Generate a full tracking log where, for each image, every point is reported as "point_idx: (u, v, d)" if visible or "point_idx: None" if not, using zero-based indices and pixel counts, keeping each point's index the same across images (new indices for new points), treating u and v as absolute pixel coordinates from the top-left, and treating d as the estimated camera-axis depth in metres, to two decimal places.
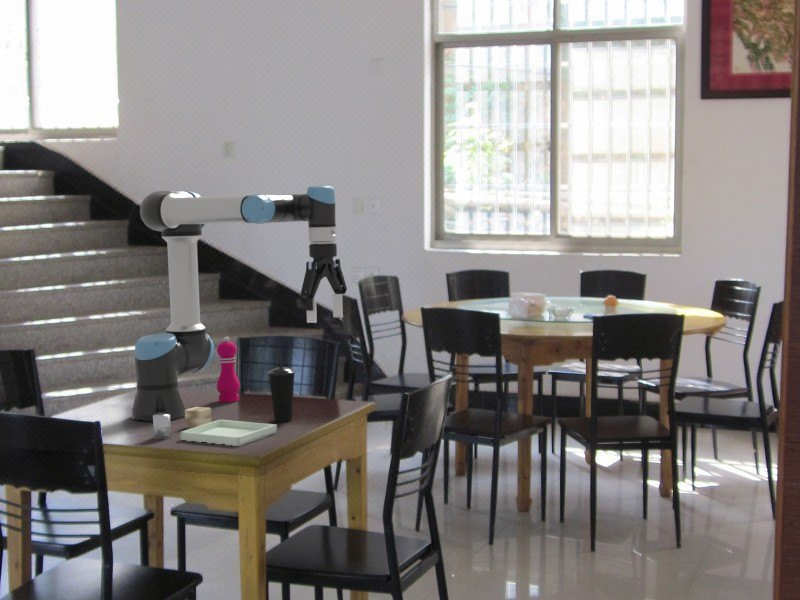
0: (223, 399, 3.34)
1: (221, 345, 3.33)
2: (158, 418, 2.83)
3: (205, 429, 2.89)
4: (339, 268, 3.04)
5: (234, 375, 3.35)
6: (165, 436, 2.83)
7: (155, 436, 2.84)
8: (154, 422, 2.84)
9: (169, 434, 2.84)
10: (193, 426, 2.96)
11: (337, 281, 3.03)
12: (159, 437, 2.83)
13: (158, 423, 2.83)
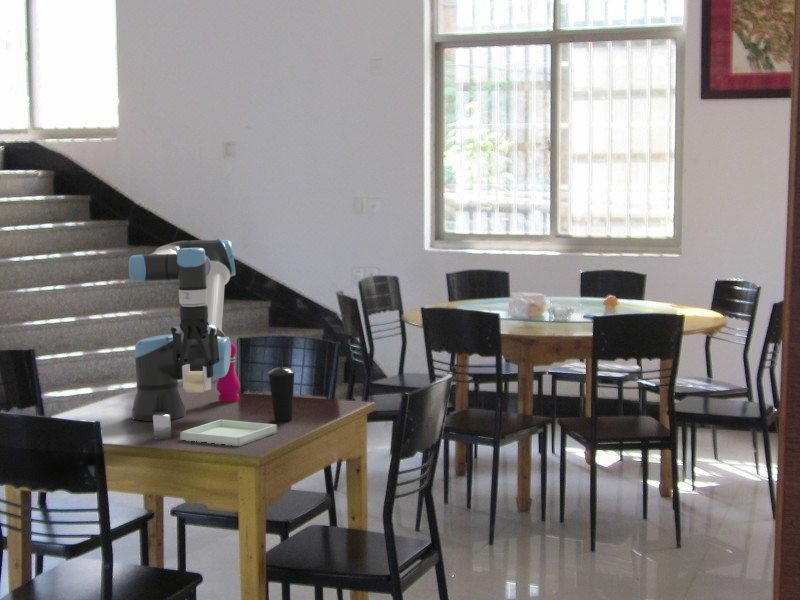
0: (223, 399, 3.34)
1: None
2: (158, 418, 2.83)
3: (205, 429, 2.89)
4: (210, 337, 2.93)
5: (234, 375, 3.35)
6: (165, 436, 2.83)
7: (155, 436, 2.84)
8: (154, 422, 2.84)
9: (169, 434, 2.84)
10: None
11: (202, 350, 2.95)
12: (159, 437, 2.83)
13: (158, 423, 2.83)
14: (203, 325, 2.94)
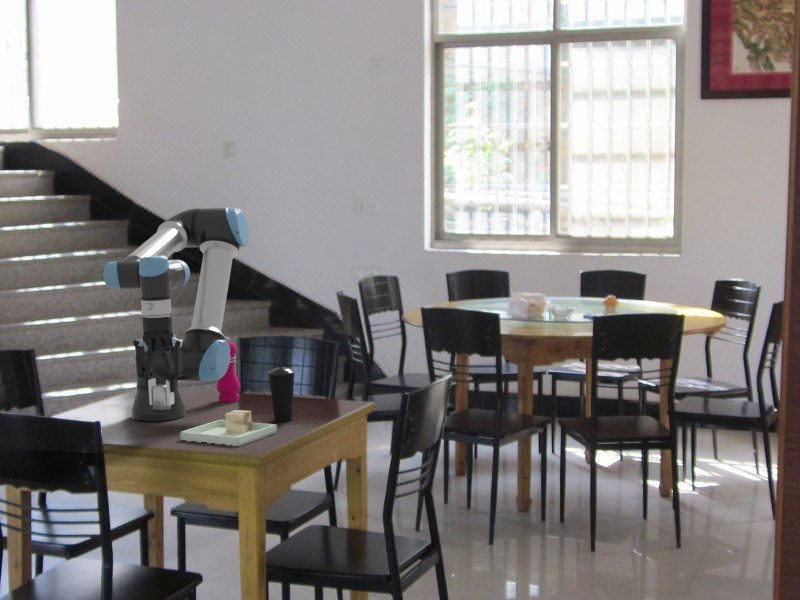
0: (223, 399, 3.34)
1: None
2: (152, 388, 2.84)
3: (205, 429, 2.89)
4: (175, 350, 2.81)
5: (234, 375, 3.35)
6: (156, 407, 2.83)
7: None
8: None
9: (161, 406, 2.83)
10: None
11: (166, 363, 2.82)
12: (153, 407, 2.84)
13: None
14: (168, 337, 2.81)
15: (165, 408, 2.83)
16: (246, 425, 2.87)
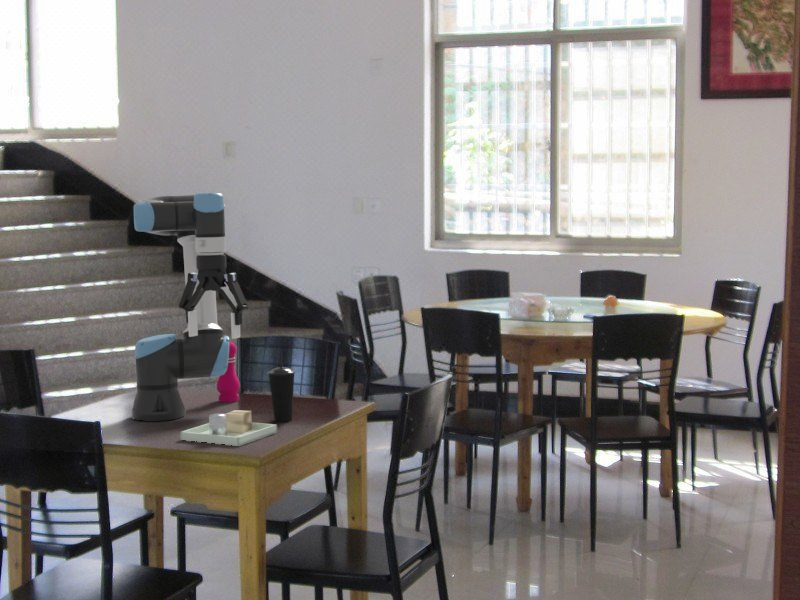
0: (223, 399, 3.34)
1: None
2: None
3: (205, 429, 2.89)
4: (230, 284, 2.73)
5: (234, 375, 3.35)
6: None
7: None
8: None
9: None
10: None
11: (226, 298, 2.74)
12: None
13: None
14: (219, 275, 2.74)
15: None
16: (246, 425, 2.87)
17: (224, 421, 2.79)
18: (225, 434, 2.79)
